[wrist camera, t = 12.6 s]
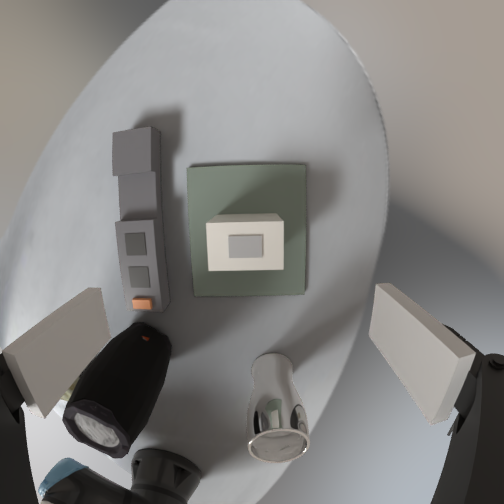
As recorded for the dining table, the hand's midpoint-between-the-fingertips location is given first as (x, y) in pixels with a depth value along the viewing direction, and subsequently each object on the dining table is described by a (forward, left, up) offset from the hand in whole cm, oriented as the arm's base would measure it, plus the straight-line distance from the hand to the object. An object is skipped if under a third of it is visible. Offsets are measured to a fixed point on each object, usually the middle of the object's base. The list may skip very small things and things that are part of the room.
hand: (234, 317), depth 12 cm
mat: (0, 0, -23) cm, 23 cm away
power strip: (+2, +13, -23) cm, 26 cm away
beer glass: (-20, -3, -23) cm, 30 cm away
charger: (0, 0, -22) cm, 22 cm away
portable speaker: (-16, +15, -23) cm, 31 cm away
